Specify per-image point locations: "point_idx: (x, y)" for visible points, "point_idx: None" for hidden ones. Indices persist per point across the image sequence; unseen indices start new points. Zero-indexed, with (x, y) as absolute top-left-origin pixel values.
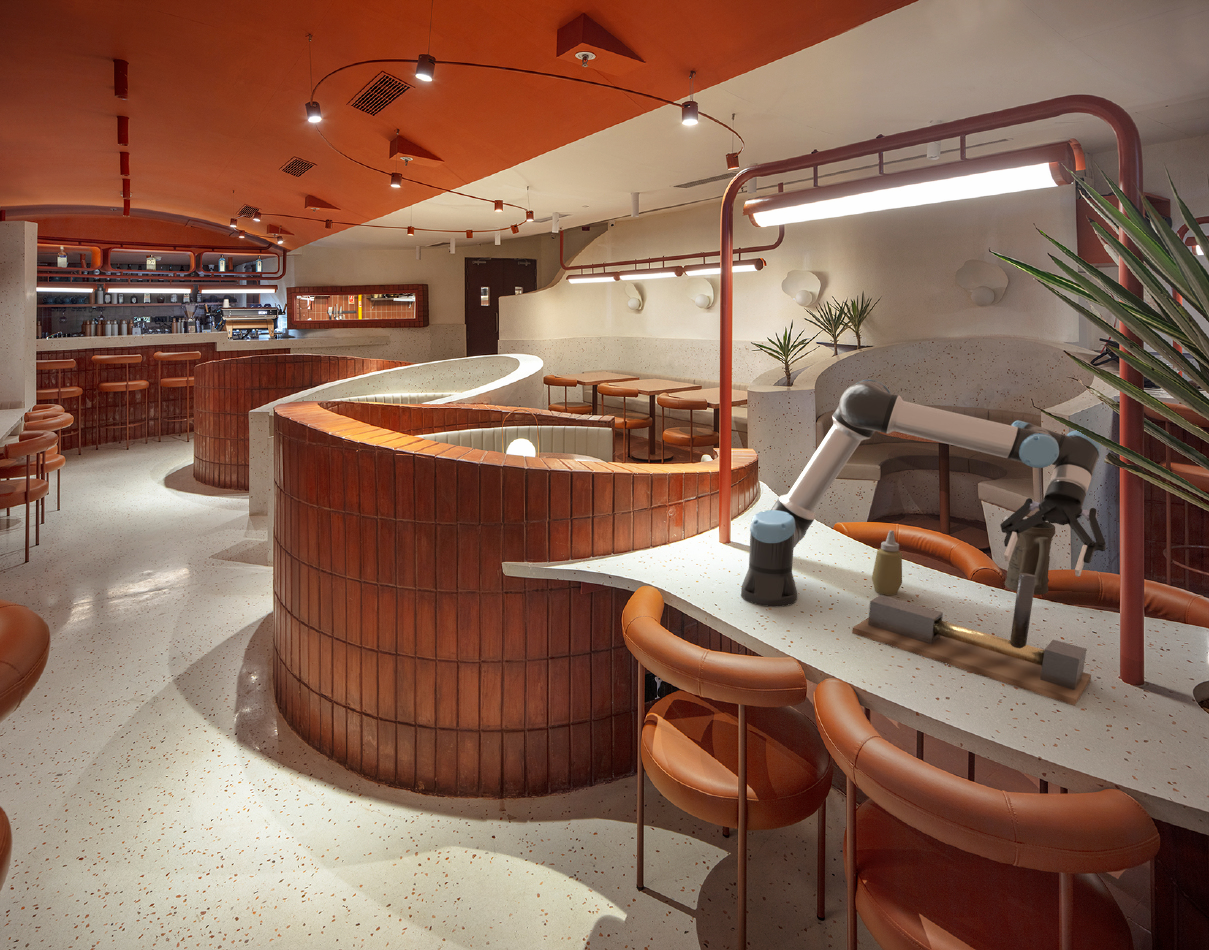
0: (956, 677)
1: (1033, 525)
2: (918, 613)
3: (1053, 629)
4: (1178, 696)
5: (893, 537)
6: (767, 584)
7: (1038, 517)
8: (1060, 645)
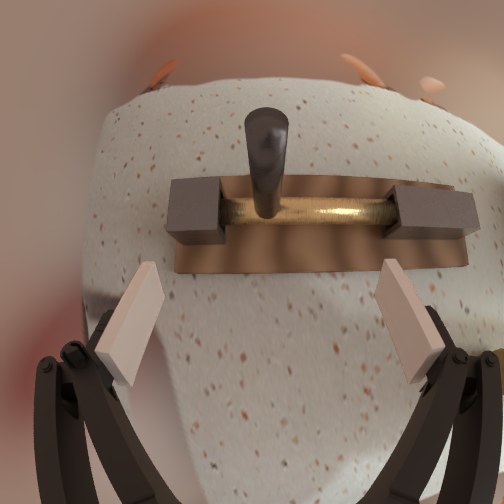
0: (314, 153)
1: (385, 468)
2: (418, 191)
3: (264, 440)
4: (97, 307)
5: None
6: None
7: (387, 489)
8: (201, 211)
